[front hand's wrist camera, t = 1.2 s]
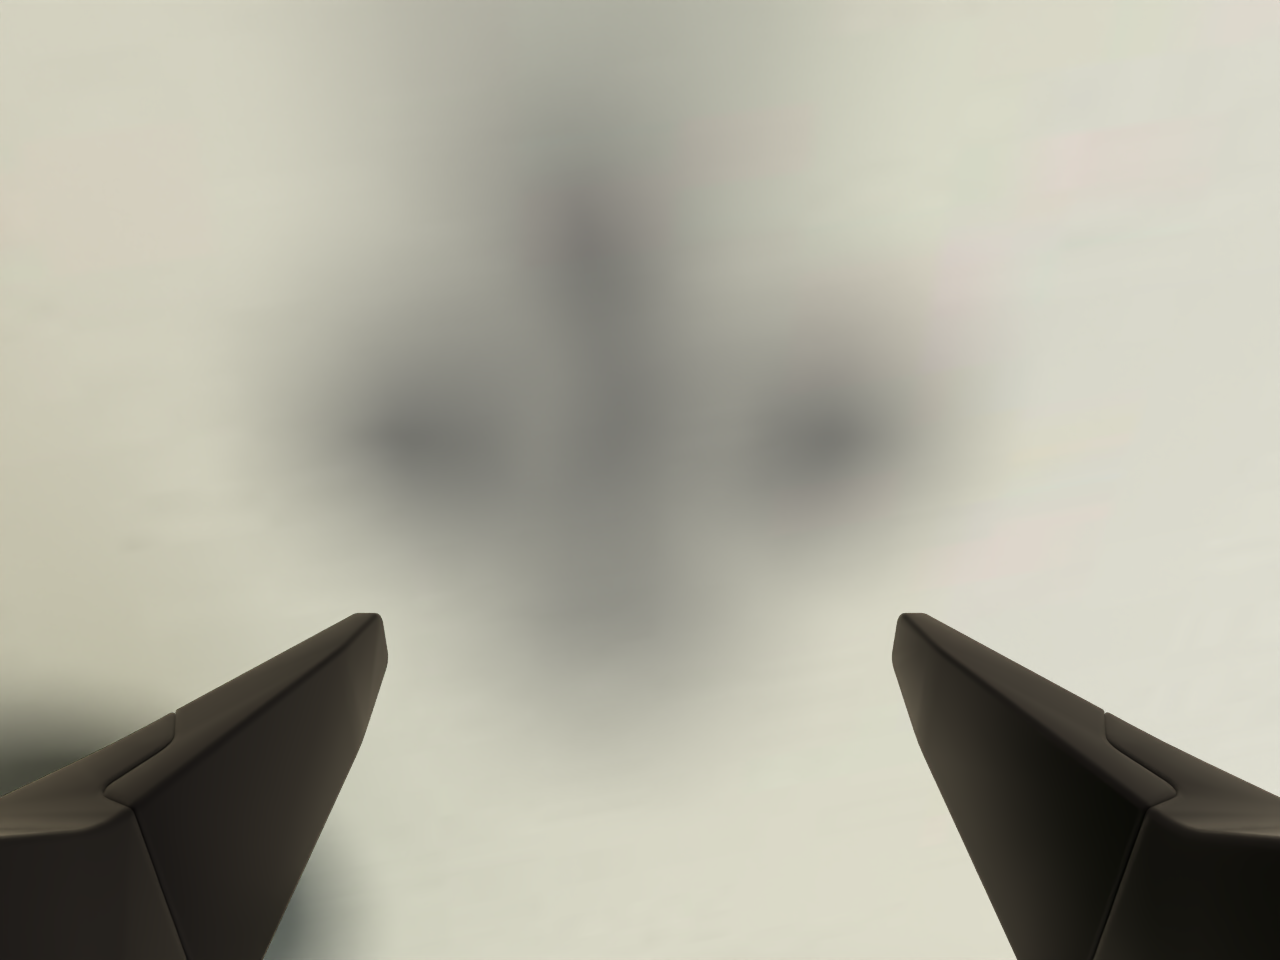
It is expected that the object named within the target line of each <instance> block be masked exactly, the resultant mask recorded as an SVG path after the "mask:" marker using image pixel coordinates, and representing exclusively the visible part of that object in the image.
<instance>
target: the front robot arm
mask: <svg viewBox="0 0 1280 960" xmlns="http://www.w3.org/2000/svg"><path fill="white" fill-rule="evenodd" d="M387 663H388V651H387V645H386V638H385V632H384V626H383V621H382V618H381V616H380V615H379V614H377V613H356V614H353V615H351V616H349V617H347V618H346V619H344V620H342V621H340V622H338V623H336V624H334V625H333V626H331V627H329V628H327V629H325V630H323V631H322V632H320V633H318V634H316V635H314V636H312V637H310V638H309V639H307V640H305V641H303V642H301V643H299V644H297V645H296V646H294V647H292V648H290V649H288V650H286V651H285V652H283V653H281V654H279V655H277V656H275V657H273V658H272V659H270V660H268V661H266V662H264V663H262V664H260V665H259V666H257V667H255V668H253V669H251V670H249V671H248V672H246V673H244V674H242V675H240V676H238V677H236V678H235V679H233V680H231V681H229V682H227V683H225V684H223V685H222V686H220V687H218V688H216V689H214V690H212V691H211V692H209V693H207V694H205V695H203V696H201V697H199V698H198V699H196V700H194V701H192V702H190V703H188V704H186V705H185V706H183V707H181V708H179V709H177V710H176V714H175V713H173V712H172V713H170V714H168V715H166V716H164V717H162V718H160V719H159V720H157V721H155V722H153V723H151V724H149V725H147V726H145V727H144V728H142V729H140V730H138V731H136V732H134V733H132V734H130V735H128V736H126V737H124V738H122V739H121V740H119V741H117V742H115V743H113V744H111V745H109V746H107V747H105V748H102V749H100V750H98V751H96V752H94V753H92V754H90V755H88V756H86V757H84V758H82V759H80V760H78V761H76V762H74V763H72V764H70V765H67V766H65V767H63V768H61V769H59V770H57V771H55V772H53V773H51V774H48V775H46V776H44V777H42V778H40V779H38V780H36V781H34V782H32V783H29V784H27V785H25V786H23V787H21V788H19V789H17V790H15V791H13V792H11V793H8V794H6V795H4V796H2V797H0V960H263V958H264V956H265V954H266V951H267V949H268V947H269V945H270V943H271V940H272V938H273V936H274V934H275V932H276V930H277V927H278V925H279V923H280V921H281V919H282V917H283V914H284V912H285V910H286V908H287V906H288V903H289V901H290V899H291V897H292V895H293V893H294V890H295V888H296V886H297V884H298V882H299V879H300V877H301V875H302V873H303V871H304V869H305V866H306V864H307V862H308V860H309V858H310V856H311V853H312V851H313V849H314V847H315V845H316V842H317V840H318V838H319V836H320V834H321V832H322V829H323V827H324V825H325V823H326V821H327V819H328V816H329V814H330V812H331V810H332V808H333V805H334V803H335V801H336V799H337V797H338V795H339V792H340V790H341V788H342V786H343V784H344V781H345V779H346V777H347V775H348V773H349V771H350V768H351V766H352V764H353V762H354V760H355V758H356V755H357V753H358V751H359V748H360V746H361V744H362V741H363V738H364V735H365V732H366V730H367V726H368V723H369V720H370V717H371V714H372V711H373V708H374V705H375V702H376V699H377V696H378V693H379V689H380V686H381V683H382V680H383V677H384V674H385V671H386V668H387ZM892 663H893V668H894V671H895V674H896V677H897V680H898V683H899V686H900V689H901V693H902V696H903V699H904V702H905V705H906V708H907V711H908V714H909V717H910V720H911V723H912V726H913V730H914V732H915V735H916V738H917V741H918V744H919V746H920V748H921V751H922V753H923V755H924V758H925V760H926V762H927V764H928V766H929V768H930V771H931V773H932V775H933V777H934V779H935V781H936V784H937V786H938V788H939V790H940V792H941V795H942V797H943V799H944V801H945V803H946V805H947V808H948V810H949V812H950V814H951V816H952V819H953V821H954V823H955V825H956V827H957V829H958V832H959V834H960V836H961V838H962V840H963V842H964V845H965V847H966V849H967V851H968V853H969V856H970V858H971V860H972V862H973V864H974V866H975V869H976V871H977V873H978V875H979V877H980V880H981V882H982V884H983V886H984V888H985V890H986V893H987V895H988V897H989V899H990V901H991V903H992V906H993V908H994V910H995V912H996V914H997V917H998V919H999V921H1000V923H1001V925H1002V927H1003V930H1004V932H1005V934H1006V936H1007V938H1008V941H1009V943H1010V945H1011V947H1012V949H1013V951H1014V954H1015V956H1016V958H1017V960H1280V797H1278V796H1276V795H1274V794H1272V793H1269V792H1267V791H1265V790H1263V789H1261V788H1259V787H1257V786H1255V785H1253V784H1251V783H1248V782H1246V781H1244V780H1242V779H1240V778H1238V777H1236V776H1234V775H1232V774H1229V773H1227V772H1225V771H1223V770H1221V769H1219V768H1217V767H1215V766H1213V765H1210V764H1208V763H1206V762H1204V761H1202V760H1200V759H1198V758H1196V757H1194V756H1192V755H1190V754H1188V753H1186V752H1184V751H1182V750H1180V749H1178V748H1175V747H1173V746H1171V745H1169V744H1167V743H1165V742H1163V741H1161V740H1159V739H1158V738H1156V737H1154V736H1152V735H1150V734H1148V733H1146V732H1144V731H1142V730H1140V729H1138V728H1136V727H1135V726H1133V725H1131V724H1129V723H1127V722H1125V721H1123V720H1121V719H1120V718H1118V717H1116V716H1114V715H1112V714H1110V713H1108V712H1107V713H1105V714H1104V710H1103V709H1101V708H1099V707H1097V706H1095V705H1094V704H1092V703H1090V702H1088V701H1086V700H1084V699H1082V698H1081V697H1079V696H1077V695H1075V694H1073V693H1071V692H1070V691H1068V690H1066V689H1064V688H1062V687H1060V686H1058V685H1057V684H1055V683H1053V682H1051V681H1049V680H1047V679H1045V678H1044V677H1042V676H1040V675H1038V674H1036V673H1034V672H1032V671H1031V670H1029V669H1027V668H1025V667H1023V666H1021V665H1020V664H1018V663H1016V662H1014V661H1012V660H1010V659H1008V658H1007V657H1005V656H1003V655H1001V654H999V653H997V652H995V651H994V650H992V649H990V648H988V647H986V646H984V645H983V644H981V643H979V642H977V641H975V640H973V639H971V638H970V637H968V636H966V635H964V634H962V633H960V632H958V631H957V630H955V629H953V628H951V627H949V626H947V625H946V624H944V623H942V622H940V621H938V620H936V619H934V618H933V617H931V616H929V615H927V614H924V613H903V614H901V615H900V616H899V618H898V621H897V626H896V632H895V638H894V645H893V651H892Z"/></svg>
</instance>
